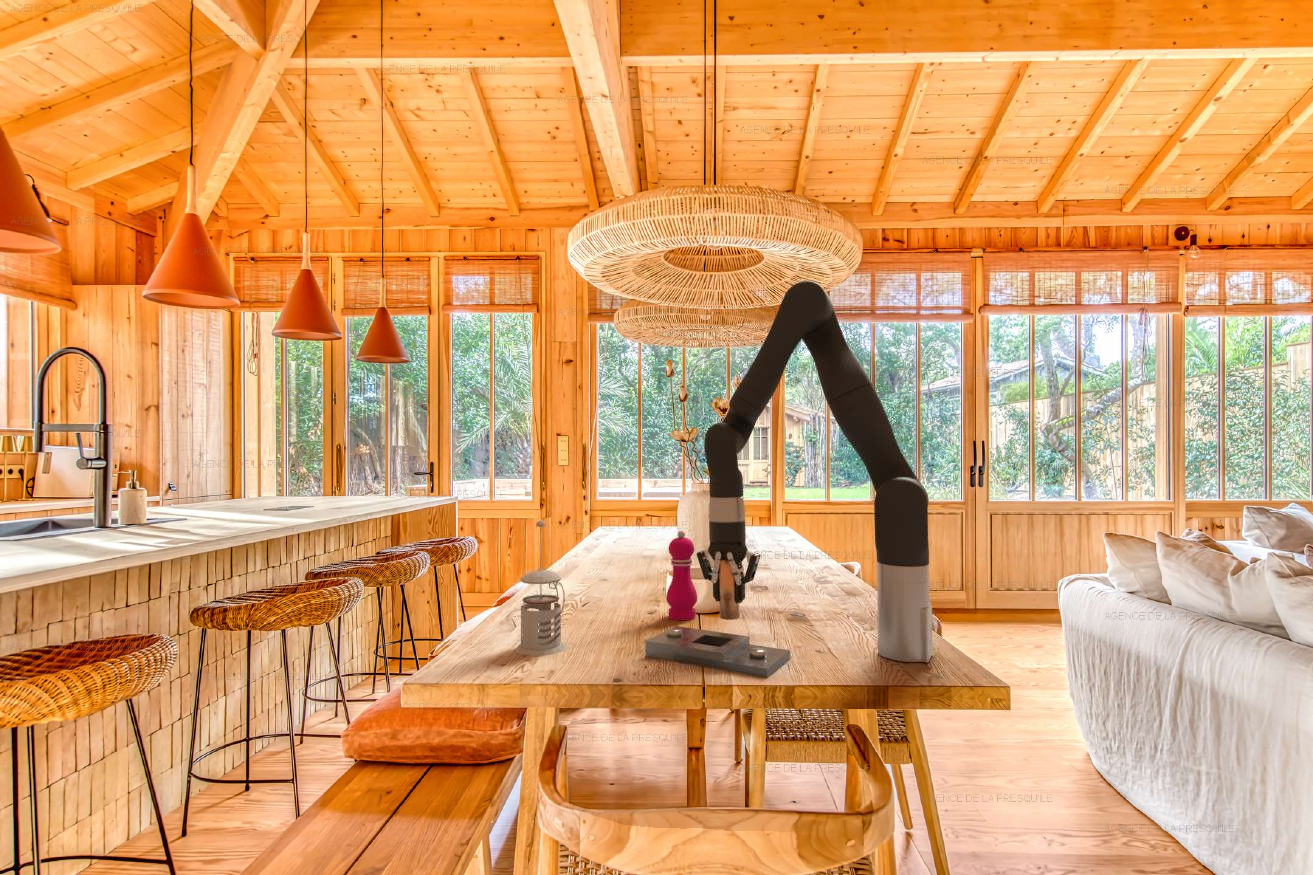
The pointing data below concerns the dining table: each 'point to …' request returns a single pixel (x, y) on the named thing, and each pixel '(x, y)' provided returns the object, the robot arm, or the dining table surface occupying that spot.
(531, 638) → the french press
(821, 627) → the dining table surface
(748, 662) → the lower link
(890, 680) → the dining table surface
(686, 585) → the pepper mill
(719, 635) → the upper link
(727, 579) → the copper pin
